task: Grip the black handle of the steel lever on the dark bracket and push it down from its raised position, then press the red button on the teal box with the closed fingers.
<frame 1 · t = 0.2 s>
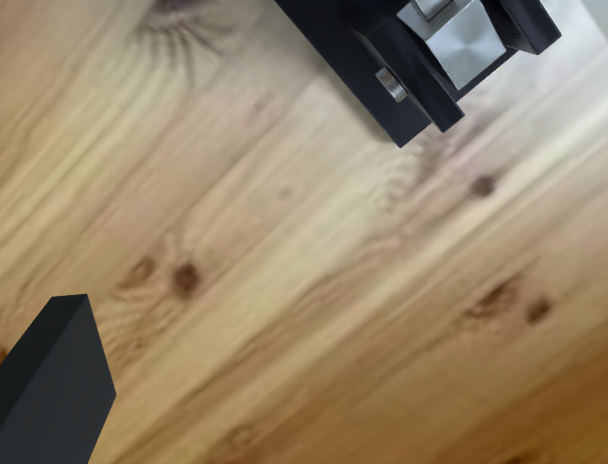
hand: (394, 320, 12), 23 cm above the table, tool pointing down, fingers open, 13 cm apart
bracket: (394, 14, 31), on the table
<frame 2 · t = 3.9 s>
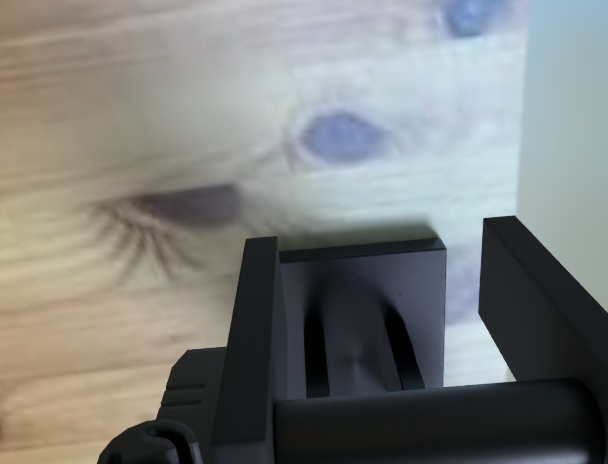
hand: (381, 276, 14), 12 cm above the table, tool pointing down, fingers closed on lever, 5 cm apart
bracket: (353, 346, 29), on the table
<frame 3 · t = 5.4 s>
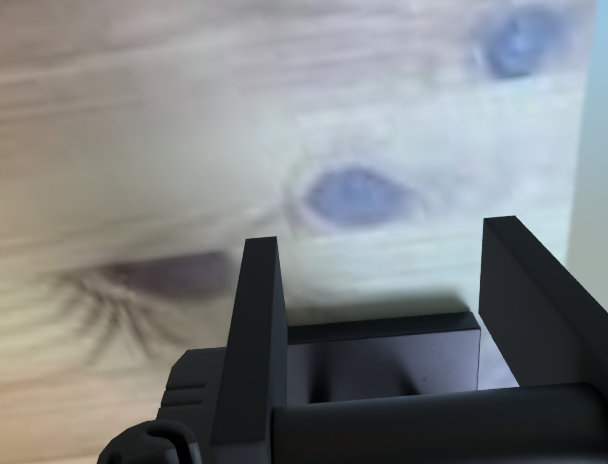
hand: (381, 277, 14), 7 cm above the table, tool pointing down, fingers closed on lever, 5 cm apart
bracket: (366, 431, 25), on the table
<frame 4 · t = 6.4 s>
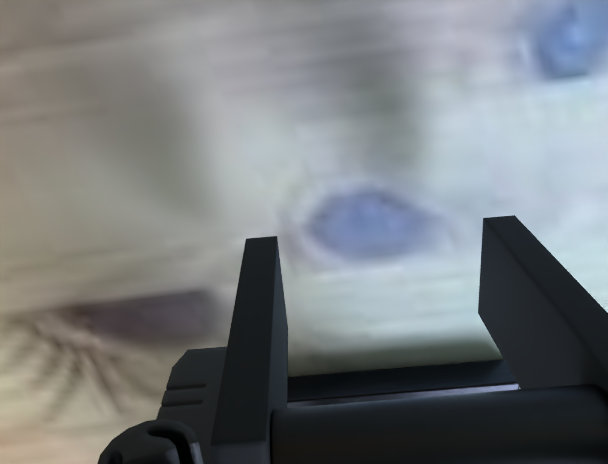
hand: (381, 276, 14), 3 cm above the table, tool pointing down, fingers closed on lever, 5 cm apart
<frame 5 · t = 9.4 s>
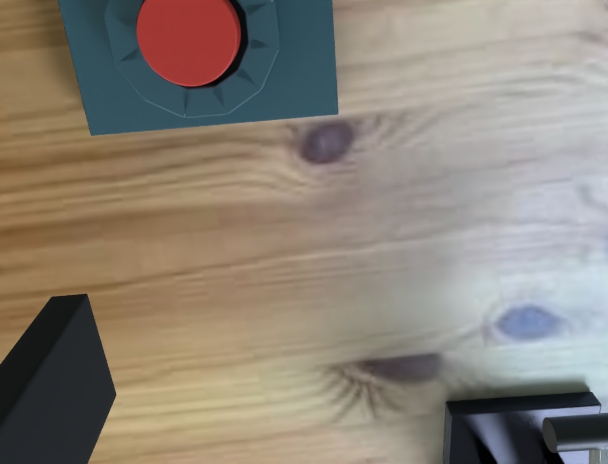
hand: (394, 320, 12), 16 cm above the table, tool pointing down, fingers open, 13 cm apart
button: (190, 33, 20), point 4 cm above the table, slide at 0.1 cm
button box: (207, 25, 25), on the table
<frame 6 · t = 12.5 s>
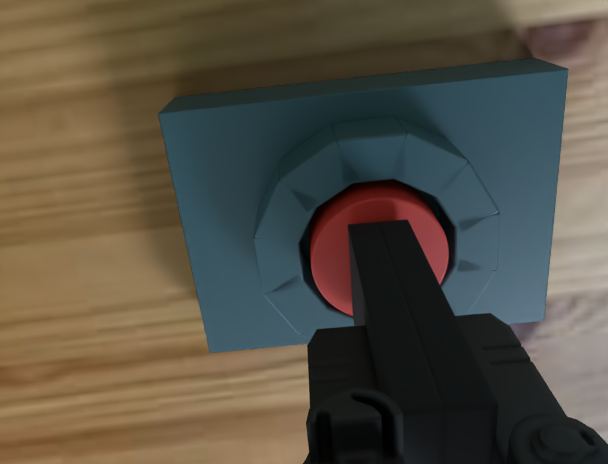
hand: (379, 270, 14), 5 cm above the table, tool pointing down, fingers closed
button: (375, 247, 15), point 4 cm above the table, slide at -0.8 cm, touching gripper
button box: (360, 199, 18), on the table
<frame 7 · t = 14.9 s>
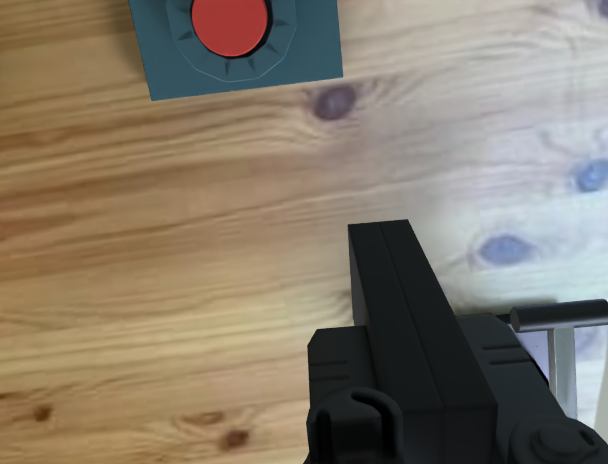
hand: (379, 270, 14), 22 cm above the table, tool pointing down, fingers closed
lever: (564, 423, 31), point 10 cm above the table, hinge at -16.7°
button: (230, 16, 27), point 4 cm above the table, slide at 0.1 cm
button box: (238, 12, 31), on the table
bracket: (497, 379, 43), on the table
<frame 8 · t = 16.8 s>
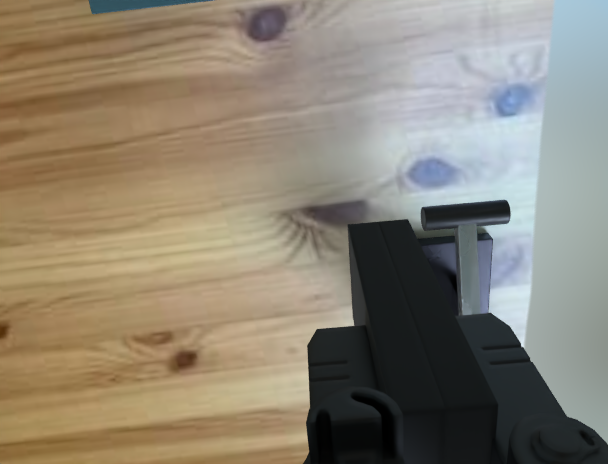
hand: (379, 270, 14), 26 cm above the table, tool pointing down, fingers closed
lever: (469, 317, 34), point 10 cm above the table, hinge at -16.7°
bracket: (429, 302, 46), on the table
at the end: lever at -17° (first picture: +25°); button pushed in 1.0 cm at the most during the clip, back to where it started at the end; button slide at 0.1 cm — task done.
